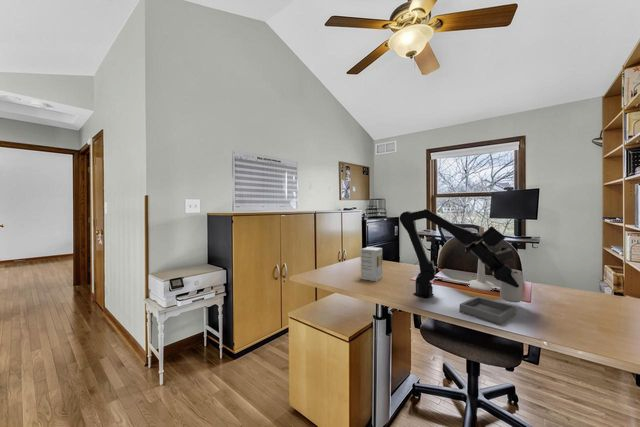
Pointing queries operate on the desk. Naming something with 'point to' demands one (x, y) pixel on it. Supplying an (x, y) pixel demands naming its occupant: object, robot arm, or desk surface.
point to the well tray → (488, 310)
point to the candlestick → (481, 275)
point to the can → (512, 288)
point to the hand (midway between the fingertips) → (515, 283)
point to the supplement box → (371, 263)
